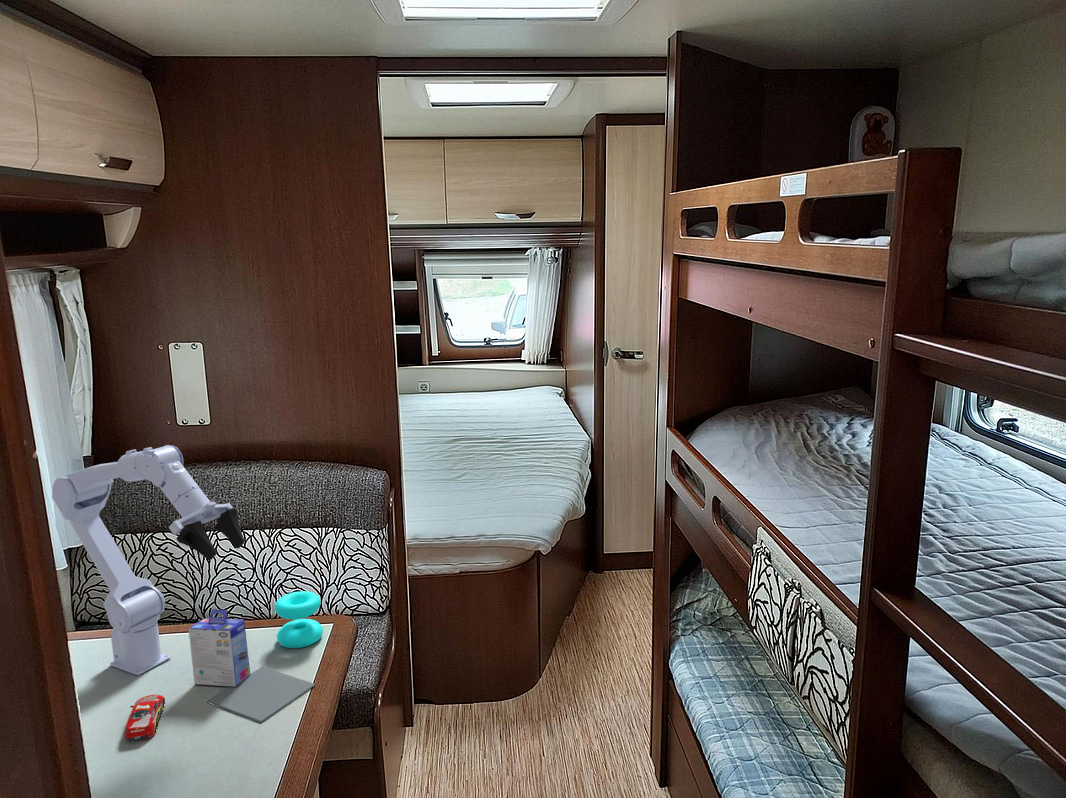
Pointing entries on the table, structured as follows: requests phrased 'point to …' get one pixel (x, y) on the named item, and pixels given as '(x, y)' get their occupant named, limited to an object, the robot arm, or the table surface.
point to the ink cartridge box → (219, 651)
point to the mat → (261, 694)
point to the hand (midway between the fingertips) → (227, 550)
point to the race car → (144, 717)
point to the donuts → (301, 629)
